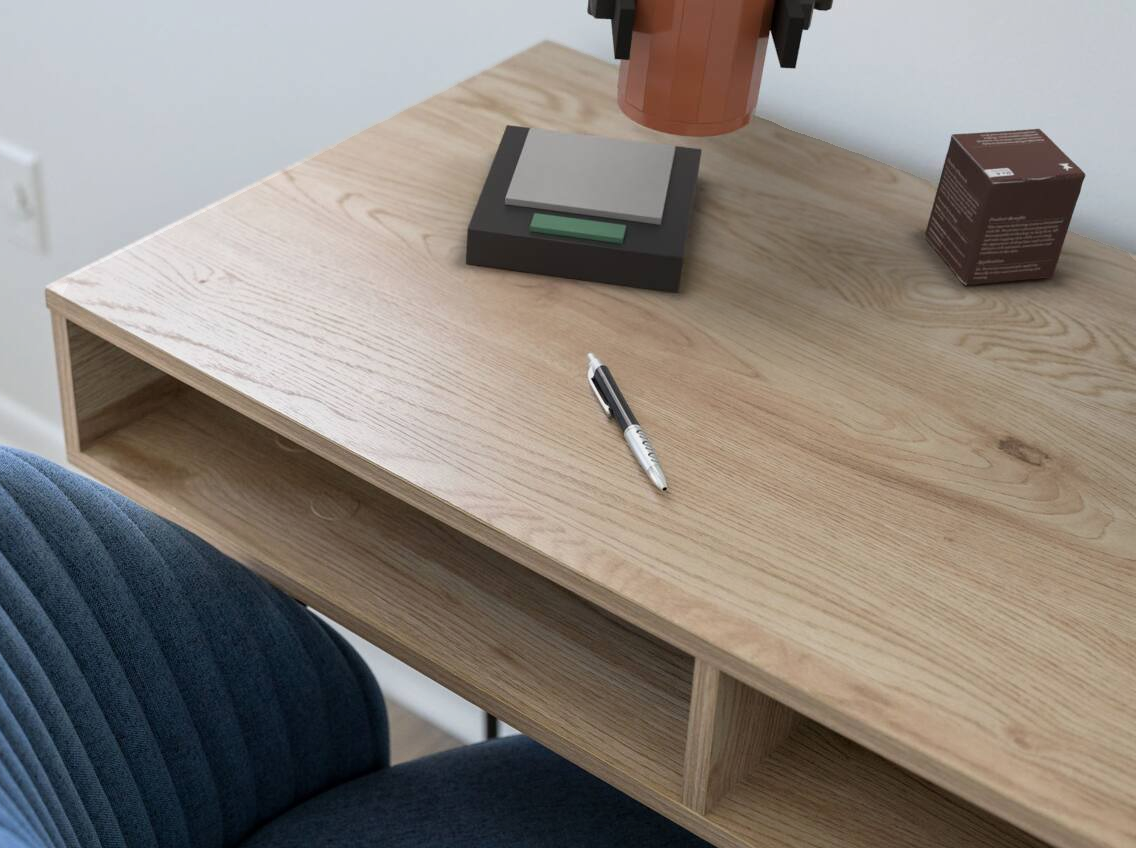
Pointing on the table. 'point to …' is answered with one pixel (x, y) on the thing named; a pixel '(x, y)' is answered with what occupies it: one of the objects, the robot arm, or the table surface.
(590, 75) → the table surface
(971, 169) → the box
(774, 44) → the robot arm
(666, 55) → the cup
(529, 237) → the scale
